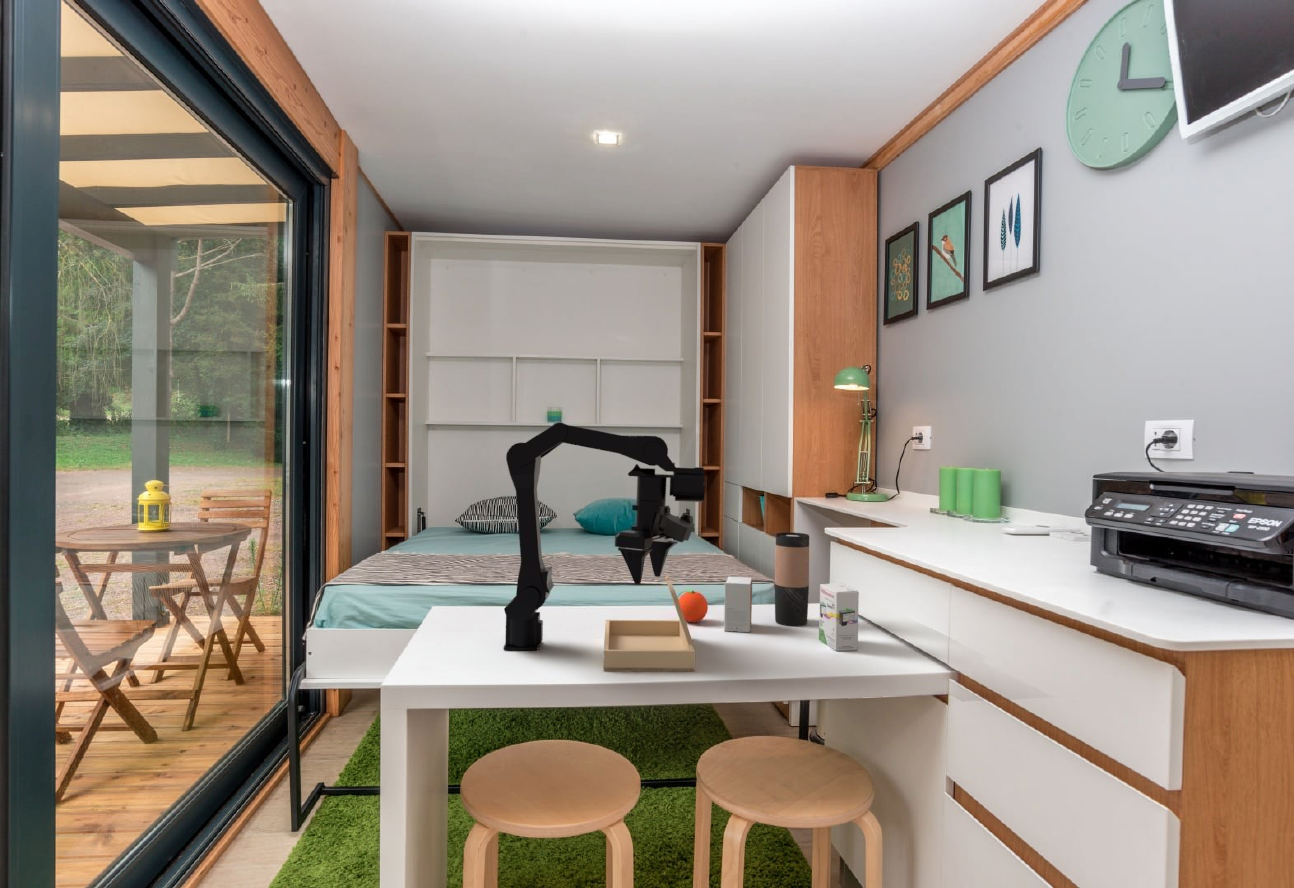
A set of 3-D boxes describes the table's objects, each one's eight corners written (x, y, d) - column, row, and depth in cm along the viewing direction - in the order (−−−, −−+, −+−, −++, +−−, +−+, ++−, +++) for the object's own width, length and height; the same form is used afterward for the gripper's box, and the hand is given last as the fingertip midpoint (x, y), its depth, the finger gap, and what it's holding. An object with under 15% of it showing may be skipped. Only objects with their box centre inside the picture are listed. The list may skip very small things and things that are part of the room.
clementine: (666, 621, 158) (667, 589, 158) (685, 615, 163) (685, 585, 163) (695, 627, 153) (696, 595, 153) (713, 621, 158) (714, 590, 158)
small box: (749, 633, 149) (750, 584, 149) (723, 631, 150) (724, 582, 150) (751, 624, 157) (752, 577, 157) (726, 622, 158) (727, 575, 158)
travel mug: (812, 621, 160) (814, 534, 160) (801, 628, 154) (803, 537, 154) (781, 616, 164) (782, 531, 164) (768, 623, 158) (770, 534, 158)
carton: (603, 670, 122) (603, 650, 122) (605, 636, 144) (605, 619, 144) (694, 671, 123) (694, 651, 123) (682, 637, 145) (682, 620, 145)
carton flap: (689, 645, 124) (672, 597, 124) (679, 618, 144) (664, 576, 144) (693, 643, 124) (676, 595, 124) (682, 616, 144) (668, 575, 144)
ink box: (817, 639, 145) (818, 582, 145) (840, 638, 146) (841, 582, 146) (835, 651, 137) (836, 591, 137) (859, 650, 137) (860, 590, 138)
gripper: (670, 506, 125) (666, 593, 125) (706, 500, 142) (703, 577, 141) (614, 501, 129) (611, 586, 129) (656, 496, 146) (653, 571, 146)
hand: (647, 580), depth 136 cm, fingers open, 9 cm apart
